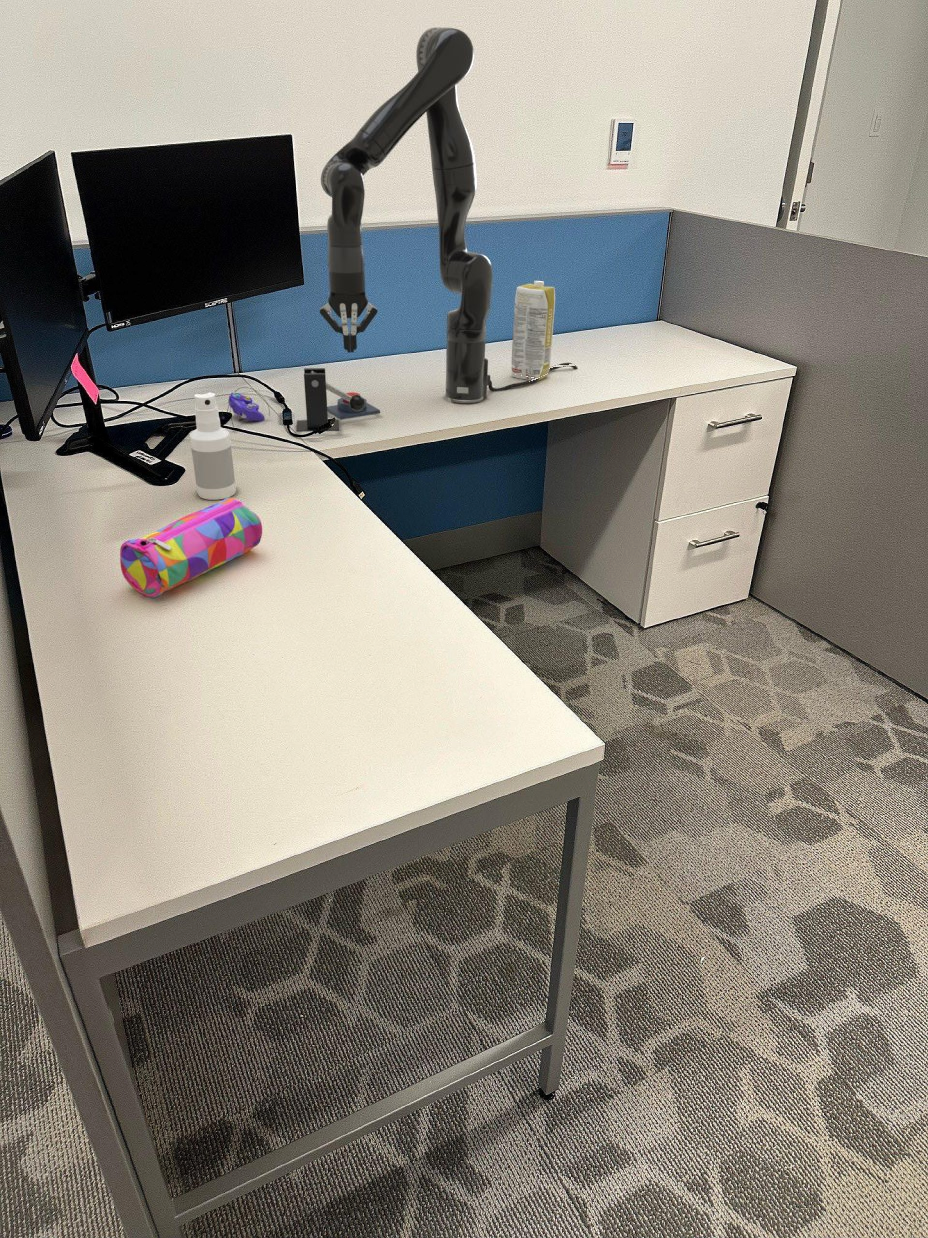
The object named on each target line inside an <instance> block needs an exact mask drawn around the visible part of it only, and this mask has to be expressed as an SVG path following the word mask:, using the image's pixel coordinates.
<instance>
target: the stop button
mask: <svg viewBox="0 0 928 1238" xmlns="http://www.w3.org/2000/svg"><path fill="white" fill-rule="evenodd" d="M345 393H346V394H348V395H350V396H351V397H352V396H353V395H360V396H361V394H360V393H358V392H353V391H351V392H345ZM344 402H345V403H349V401H347V400H345V399H344Z"/></svg>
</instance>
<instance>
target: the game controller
mask: <svg viewBox="0 0 928 1238" xmlns="http://www.w3.org/2000/svg"><path fill="white" fill-rule="evenodd" d="M240 389H250V390H252V388H250V387H248V386H242V387H239V388H237V389H236V390H235V391H233V392H230V394H229V396H228V399H227V404H228V406H227V410H226V413H230V415H232V412H231V409H232V411H233V413H234V414H235V415H238V416H240V417H241V418H240V419H239V420H238V422H240V421H241V420H245V421H248V420H251V421H253V422H262V421H265V419H266V418H265V415H264V414H263V413H262V412H261V411H259V409H260V405H259V404H257V403H255V402H253V401H254V400H253V398H251V397H250V396H246V395H243V394H241V393H239V392H237V391H239V390H240ZM253 391H255V392H256V393H258V394H259V395H260V396H261V397H262V398H263V399H264V401H265V402H266V404H267V407H268V408H270V406H269V404H268V402H267V400H266V399H265V397H264V396H263V395H262V394H261V393H260V392H258V391H257V390H255V389H253ZM228 411H229V412H228ZM270 413H271V411H270V409H268V416H270ZM221 419H222V420H226V418H225V416H224V415H222V416H221ZM230 419H231V424H232V426H233V428H235V427H234V422H233V418H232V416H230Z"/></svg>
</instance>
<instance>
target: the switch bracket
mask: <svg viewBox="0 0 928 1238" xmlns="http://www.w3.org/2000/svg"><path fill="white" fill-rule="evenodd" d="M311 371H314V372H316V373H311ZM303 381H304V383H303V385H304V398H305V413H306V415H305V416H306V419H300V420H299V419H298V420H296V431H295V432H296V433H297V432H298V433H301V432H317V431H316V429H317V428H319V427H321V426H322V425H324V424H326V423H328V420H329V415H328V413H329V412H327V407H328V398H327V397H328V396H327V395H328V394H327V389H326V383H327V378H326V368H325V367H305V368H303ZM334 420H335V422H334V425H333V426H332V427H331V428H329V429H325V430H321V431H320V432H339V431H340V423H339V422H340V421H339V420H340V419H334Z"/></svg>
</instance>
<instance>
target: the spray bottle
mask: <svg viewBox="0 0 928 1238" xmlns="http://www.w3.org/2000/svg"><path fill="white" fill-rule="evenodd" d="M193 396H194V403H195V404H194V405H195V406H194V414H195V425H196V429H194V430H192V431H191V433H189V442H190V447H191V448H190V449H191V456H192V457H191V458H192V464H193V472H194V478H195V479H194V480H195V486H196V492H197V495H198V497H200V498H202V499H204V500H210V501H211V500H212V501H213V500H215V501H216V500H224V499H226V498H231V497H232V496H234V495H235V494H236V492H237V487H236V479H235V468H234V459H233V450H232V443H231V435H230V432H229V431H228V430H227V429H226V428H223V427H222V426H221V418H220V415H219V407H218V405H217V401H216V394H215V393H214V392H207V393H203V394H200V393H199V394H198V393H195V394H194V395H193Z"/></svg>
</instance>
